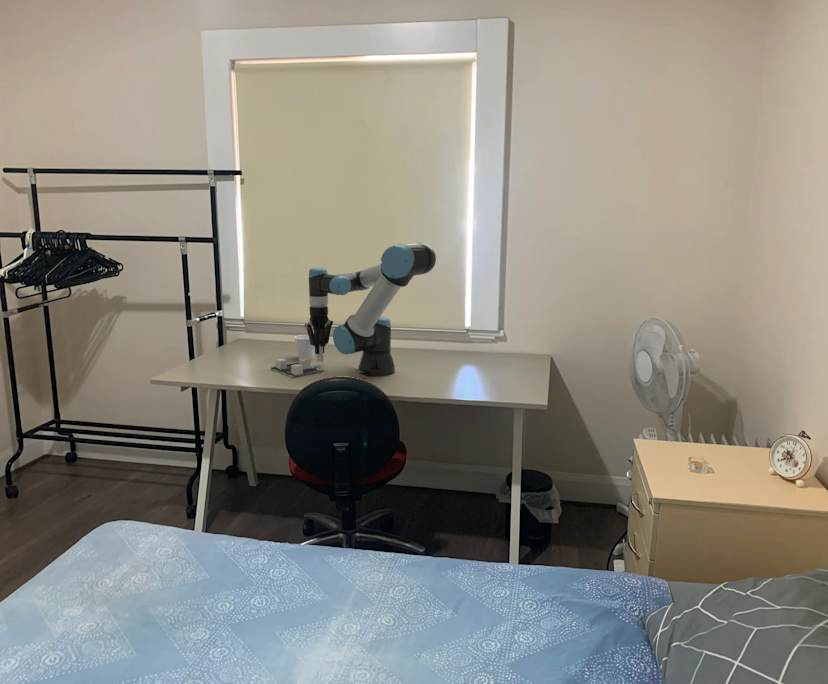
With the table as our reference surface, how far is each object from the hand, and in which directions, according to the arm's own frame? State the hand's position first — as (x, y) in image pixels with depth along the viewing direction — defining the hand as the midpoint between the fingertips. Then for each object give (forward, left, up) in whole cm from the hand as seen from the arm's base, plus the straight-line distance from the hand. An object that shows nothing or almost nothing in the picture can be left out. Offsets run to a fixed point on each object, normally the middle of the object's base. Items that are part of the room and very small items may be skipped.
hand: (319, 361), depth 290 cm
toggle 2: (-6, +15, -2) cm, 16 cm away
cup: (+15, -3, -4) cm, 16 cm away
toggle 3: (0, +8, -2) cm, 8 cm away
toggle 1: (+6, +15, -2) cm, 16 cm away
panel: (0, +11, -3) cm, 12 cm away
